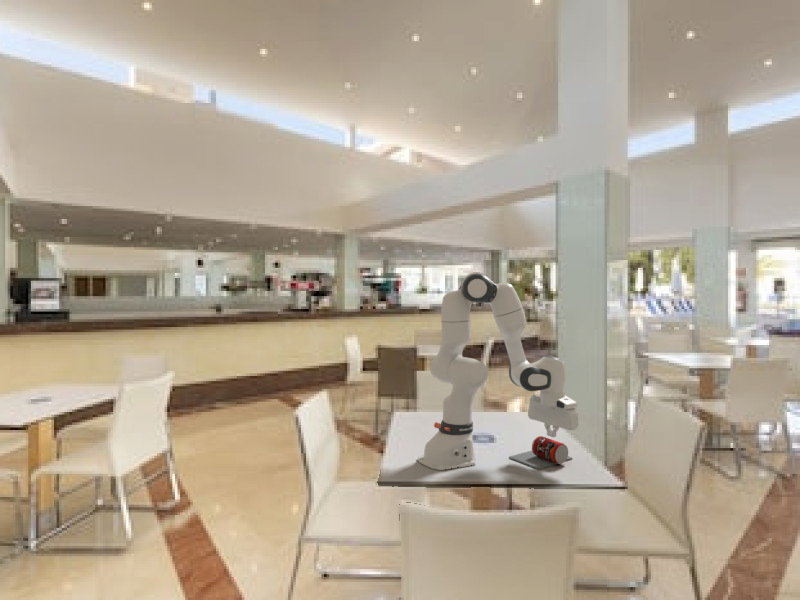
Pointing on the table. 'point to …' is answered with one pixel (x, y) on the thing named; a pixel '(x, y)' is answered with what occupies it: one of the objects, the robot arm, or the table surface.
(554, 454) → the canned food
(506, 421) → the table surface
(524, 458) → the mat
